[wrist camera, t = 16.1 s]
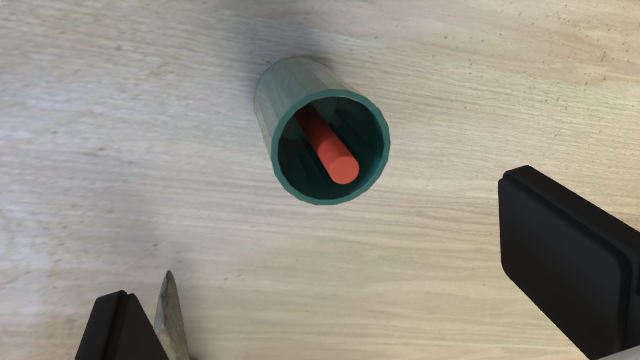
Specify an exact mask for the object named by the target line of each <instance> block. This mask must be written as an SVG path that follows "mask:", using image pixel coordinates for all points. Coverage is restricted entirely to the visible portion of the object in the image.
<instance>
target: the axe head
mask: <svg viewBox="0 0 640 360" xmlns="http://www.w3.org/2000/svg"><path fill="white" fill-rule="evenodd" d="M154 331H155V333H156V335H157V337H158V339H159V341H160V343H161V345H162V346H163V348H164V350H165V352H166V354H167V356H168V358H169V360H189V355H188V349H187V342H186V335H185V331H184V324H183V319H182V313H181V308H180V302H179V297H178V292H177V287H176V283H175V280H174V277H173V275H172V272H171V271H170V270H169V271H168V272H167V273H166V275H165V278H164V280H163V283H162V287H161V290H160V294H159V299H158V304H157V310H156V315H155V322H154Z"/></svg>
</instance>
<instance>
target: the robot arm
mask: <svg viewBox="0 0 640 360" xmlns="http://www.w3.org/2000/svg"><path fill="white" fill-rule="evenodd" d="M498 199H499V224H500V248H501V264H502V267H503V270H504V272H505V273H506V275H507V276H508V277H509V278H510V279H511V280H512V281H513V282H514V283H515V284H516V285H517V286H518V287H519V288H520V289H521V290H522V291H523V292H524V293H525V294H526V295H527V296H528V297H529V298H530V299H531V300H532V302H533V303H534V304H535V305H536V306H537V307H538V308H539V309H540V310H541V311H542V312H543V313H544V314H545V315H546V316H547V317H548V318H549V319H550V320H551V321H552V322H553V323H554V324H555V325H556V326H557V327H558V328H559V329H560V330H561V331H562V332H563V333H564V334H565V335H566V336H567V337H568V338H569V339H570V340H571V341H572V342H573V343H574V344H575V345H576V346H577V348H578V349H579V350H580V351H581V352H582V353H583V354H584V355H585V356H586V357H587V358H588V359H589V360H640V232H639V231H637V230H635V229H634V228H632V227H630V226H629V225H627V224H625V223H624V222H622V221H620V220H619V219H617V218H615V217H614V216H612V215H610V214H609V213H607V212H605V211H604V210H602V209H601V208H599V207H597V206H596V205H594V204H592V203H591V202H589V201H587V200H586V199H584V198H582V197H581V196H579V195H577V194H576V193H574V192H572V191H571V190H569V189H567V188H566V187H564V186H562V185H561V184H559V183H558V182H556V181H554V180H553V179H551V178H549V177H548V176H546V175H544V174H543V173H541V172H539V171H538V170H536V169H534V168H533V167H531V166H529V165H525V166H521V167H518V168H515V169H512V170H508V171H506V172H505V173H504V174H503V178H502V179H500V180H499V181H498ZM75 360H169V358H168V356H167V354H166V352H165V350H164V348H163V346H162V345H161V343H160V341H159V339H158V337H157V335H156V333H155V331H154V329H153V327H152V325H151V323H150V322H149V320H148V318H147V316H146V314H145V312H144V310H143V308H142V306H141V304H140V302H139V301H138V299H137V297H136V295H135V294H133V293H131V294H127V293H126V292H125V291H123V290H120V291H117V292H114V293H111V294H107V295H104V296H101V297H98V298H97V299H96V301H95V303H94V306H93V309H92V312H91V314H90V317H89V320H88V323H87V326H86V329H85V331H84V334H83V337H82V340H81V343H80V346H79V348H78V351H77V354H76V357H75Z"/></svg>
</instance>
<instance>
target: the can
mask: <svg viewBox="0 0 640 360" xmlns="http://www.w3.org/2000/svg"><path fill="white" fill-rule="evenodd" d="M308 103H311V104H312V105H313V107H314V108H315V109H316V110H317V112H318V113H319V114H320V115H321V117H322V118H323V119H324V120H325V122H326V123H327V124H328V125H329V127H330V128H331V129H332V130H333V132H334V133H335V134H336V135H337V137H338V138H339V139H340V140H341V142H342V143H343V144H344V145H345V147H346V148H347V149H348V151H349V152H350V153H351V154H352V156H353V157H354V158H355V159H356V161H357V162H358V165H359V172H358V175H357V176H356V178H355V179H354V180H353V181H351V182H349V183H346V184H339V183H337V182H335V181H334V180H333V179H332V178H331V177H330V175H329V173H328V172H327V170H326V168H325V167H324V165H323V163H322V162H321V160H320V158H319V157H318V155H317V153H316V152H315V150H314V148H313V147H312V145H311V143H310V141H309V140H308V138H307V136H306V135H305V133H304V131H303V130H302V128H301V126H300V125H299V123H298V121H297V120H296V118H295V116H294V113H295V112H296V111H297V110H299V109H300V108H302V107H303V106H305V105H306V104H308ZM254 109H255V113H256V116H257V120H258V123H259V126H260V129H261V132H262V136H263V139H264V142H265V145H266V148H267V151H268V155H269V158H270V161H271V164H272V167H273V170H274V173H275V176H276V177H277V179H278V180H279V182H280V183H281V185H282V186H283V187H284V189H285V190H286V191H288V192H289V193H290V194H292V195H293V196H295V197H296V198H297V199H299V200H301V201H304V202H307V203H311V204H314V205H337V204H341V203H344V202H347V201H351V200H353V199H354V198H356V197H358V196H359V195H361V194H363V193H364V192H366V191H367V190H368V189H369V188H370V187H371V186H372V185H373V184H374V183H375V182H376V180H377V179H378V178H379V177H380V175H381V173H382V171H383V169H384V167H385V165H386V163H387V161H388V156H389V150H390V143H391V142H390V135H389V128H388V124H387V122H386V120H385V119H384V117H383V115H382V113H381V111H380V110H379V108H378V107H376V106H375V105H374V104H373V103H372V102H371V101H370V100H369V99H368V98H367V97H365V96H364V95H363V94H361V93H360V92H359V91H357V90H356V89H355V88H353V87H352V86H351V85H349V84H348V83H347V82H346V81H344V80H343V79H342V78H340V77H339V76H338V75H336V74H335V73H334V72H332V71H331V70H330V69H328V68H327V67H326V66H324V65H323V64H321V63H319V62H317V61H316V60H313V59H310V58H306V57H290V58H285V59H282V60H280V61H278V62H276V63H275V64H273V65H271V66H270V67H269V68H268V69H267V70H266V71H265V72H264V73H263V75H262V76H261V78H260V79H259V81H258V83H257V86H256V89H255V93H254Z"/></svg>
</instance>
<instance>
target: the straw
mask: <svg viewBox="0 0 640 360" xmlns="http://www.w3.org/2000/svg"><path fill="white" fill-rule="evenodd" d="M294 116H295V118H296V120H297V121H298V123H299V125H300V126H301V128H302V130H303V131H304V133H305V135H306V136H307V138H308V140H309V141H310V143H311V145H312V147H313V148H314V150H315V152H316V153H317V155H318V157H319V158H320V160H321V162H322V163H323V165H324V167H325V168H326V170H327V172H328V173H329V175H330V177H331V178H332V179H333V180H334V181H335V182H337V183H339V184H346V183H349V182H351V181H353V180H354V179H355V178H356V176H357V175H358V172H359V165H358V162H357V161H356V159H355V158H354V157H353V156H352V154H351V153H350V152H349V151H348V149H347V148H346V147H345V145H344V144H343V143H342V142H341V140H340V139H339V138H338V137H337V135H336V134H335V133H334V132H333V130H332V129H331V128H330V127H329V125H328V124H327V123H326V122H325V120H324V119H323V118H322V117H321V115H320V114H319V113H318V112H317V110H316V109H315V108H314V107H313V105H312V104H311V103H308V104H306V105H305V106H303V107H302V108H300V109H299V110H297V111H296V112H295V113H294Z"/></svg>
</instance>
